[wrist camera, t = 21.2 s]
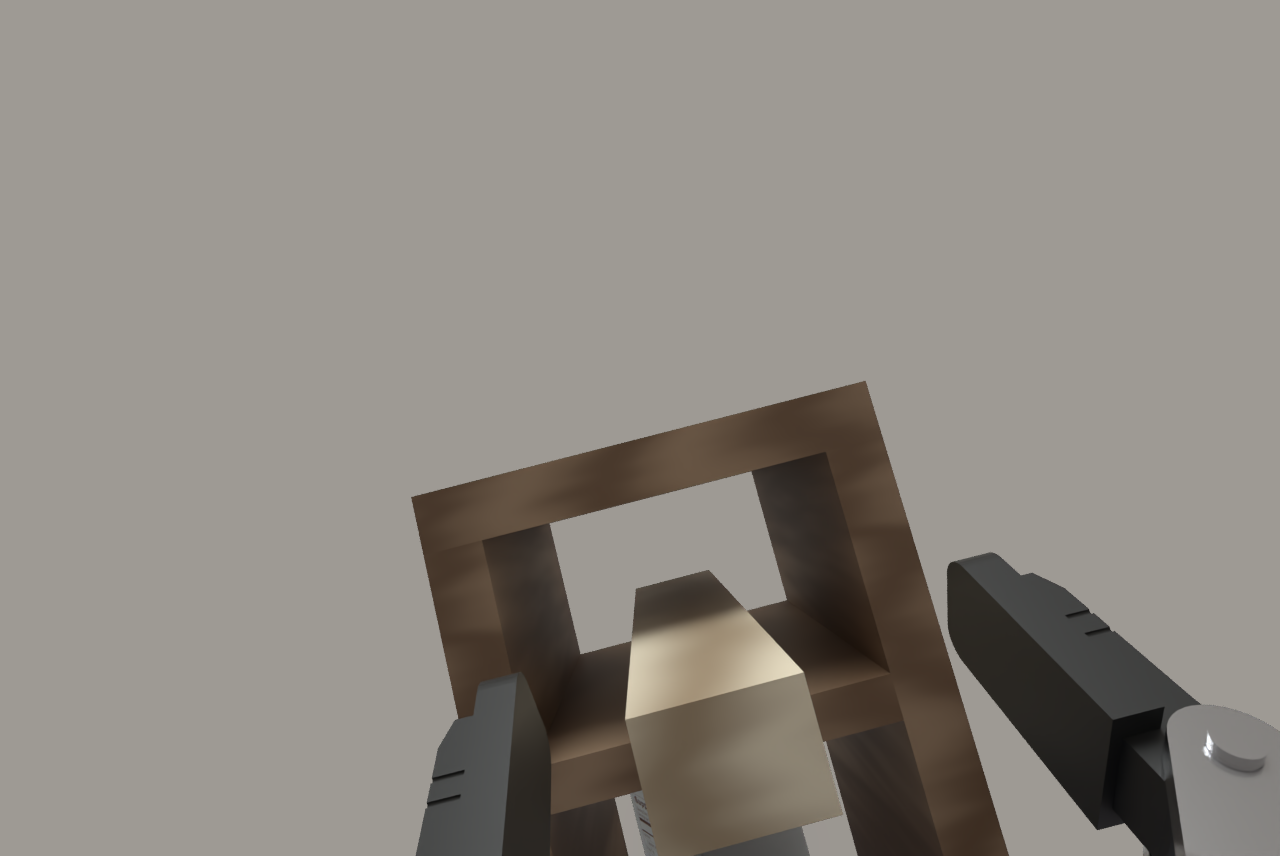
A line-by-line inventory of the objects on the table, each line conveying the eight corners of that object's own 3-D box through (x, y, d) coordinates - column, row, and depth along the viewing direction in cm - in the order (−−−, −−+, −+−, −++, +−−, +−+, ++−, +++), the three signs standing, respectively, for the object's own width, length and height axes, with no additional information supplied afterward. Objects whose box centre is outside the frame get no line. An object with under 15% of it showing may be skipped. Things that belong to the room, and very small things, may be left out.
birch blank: (659, 864, 13) (625, 719, 14) (650, 645, 33) (636, 588, 33) (842, 814, 13) (803, 672, 14) (723, 626, 33) (708, 569, 34)
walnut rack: (638, 1561, 18) (411, 497, 21) (641, 1077, 33) (507, 497, 36) (1174, 1404, 18) (865, 380, 22) (935, 996, 33) (775, 429, 37)
